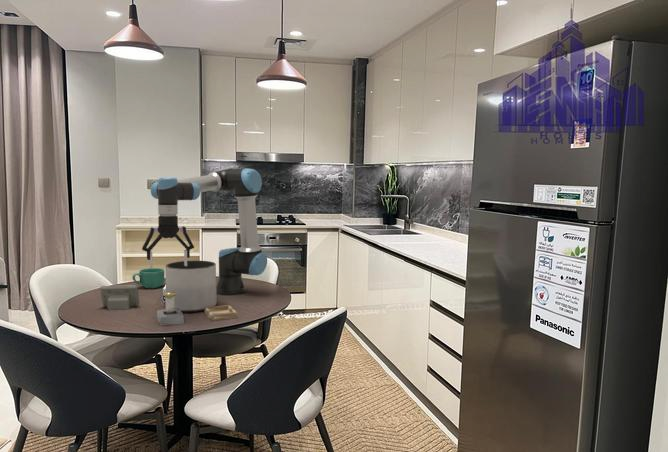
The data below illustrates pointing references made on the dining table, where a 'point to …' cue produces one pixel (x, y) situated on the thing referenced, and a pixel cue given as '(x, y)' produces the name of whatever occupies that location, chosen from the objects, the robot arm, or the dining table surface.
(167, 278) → the planter
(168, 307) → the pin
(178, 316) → the block
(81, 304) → the dining table surface
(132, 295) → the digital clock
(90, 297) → the dining table surface
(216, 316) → the tray
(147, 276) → the mug
